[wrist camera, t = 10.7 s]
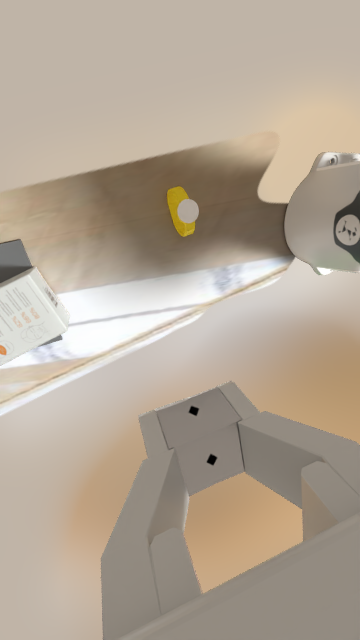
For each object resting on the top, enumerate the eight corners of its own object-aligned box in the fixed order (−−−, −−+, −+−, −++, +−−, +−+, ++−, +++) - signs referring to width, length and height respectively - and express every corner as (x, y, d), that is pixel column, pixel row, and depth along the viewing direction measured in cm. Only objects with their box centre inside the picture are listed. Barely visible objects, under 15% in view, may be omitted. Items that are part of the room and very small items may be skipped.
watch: (158, 194, 37) (169, 186, 32) (177, 187, 38) (191, 179, 32) (172, 238, 40) (184, 238, 34) (190, 231, 40) (205, 231, 34)
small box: (36, 264, 35) (-44, 302, 34) (28, 273, 30) (-67, 318, 29) (71, 316, 39) (-1, 352, 38) (69, 332, 34) (-14, 374, 33)
